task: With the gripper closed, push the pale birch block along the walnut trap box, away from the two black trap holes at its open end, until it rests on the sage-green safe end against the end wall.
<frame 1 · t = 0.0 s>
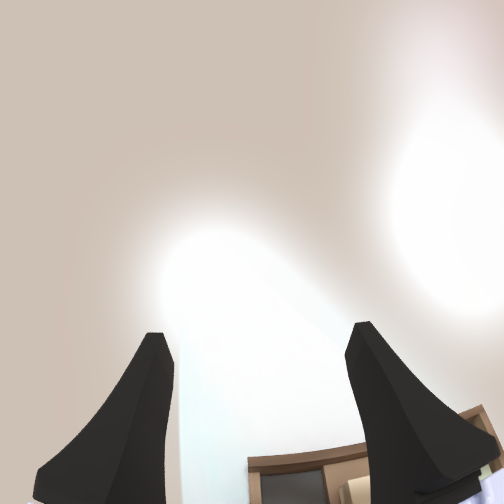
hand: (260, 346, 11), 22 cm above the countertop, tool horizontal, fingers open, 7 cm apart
trap box: (388, 502, 19), on the countertop
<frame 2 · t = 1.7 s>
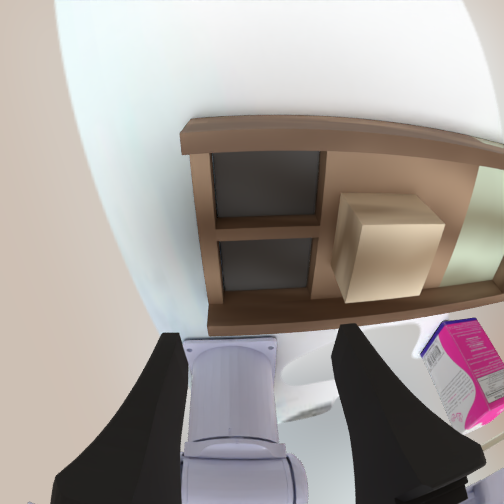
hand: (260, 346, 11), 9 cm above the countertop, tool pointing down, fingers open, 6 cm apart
birch block: (373, 230, 18), point 1 cm above the countertop, touching trap box
trap box: (397, 217, 19), on the countertop
supplement box: (448, 334, 28), on the countertop
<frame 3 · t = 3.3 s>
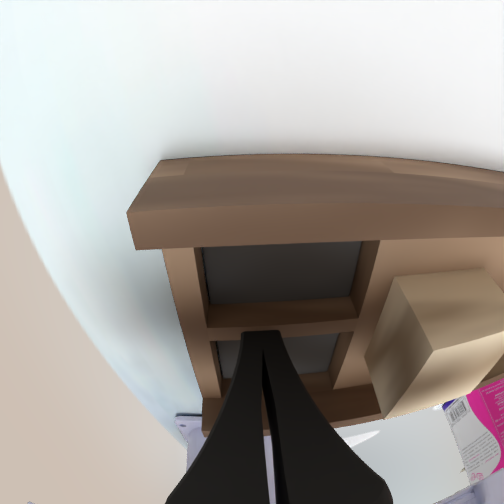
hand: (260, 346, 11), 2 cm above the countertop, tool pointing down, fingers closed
birch block: (425, 315, 12), point 1 cm above the countertop, touching trap box
trap box: (450, 288, 13), on the countertop
supplement box: (473, 384, 22), on the countertop
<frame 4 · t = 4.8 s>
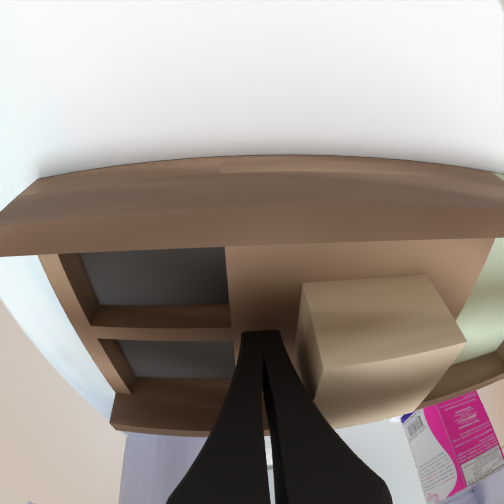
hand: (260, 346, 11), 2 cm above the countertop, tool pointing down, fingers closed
birch block: (355, 324, 12), point 2 cm above the countertop
trap box: (365, 298, 13), on the countertop
supplement box: (436, 397, 22), on the countertop
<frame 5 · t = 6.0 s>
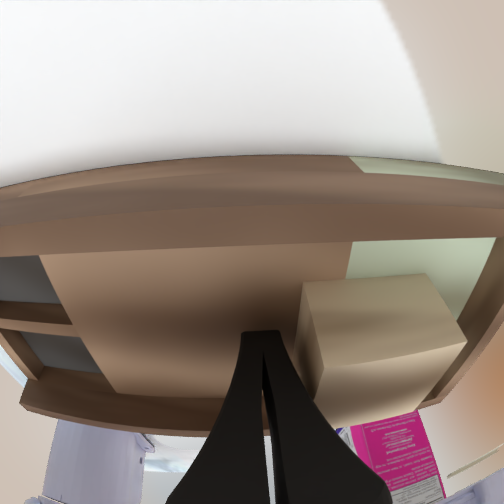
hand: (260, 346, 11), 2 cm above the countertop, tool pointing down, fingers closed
birch block: (355, 324, 12), point 2 cm above the countertop, touching gripper
trap box: (210, 307, 13), on the countertop
supplement box: (372, 414, 22), on the countertop
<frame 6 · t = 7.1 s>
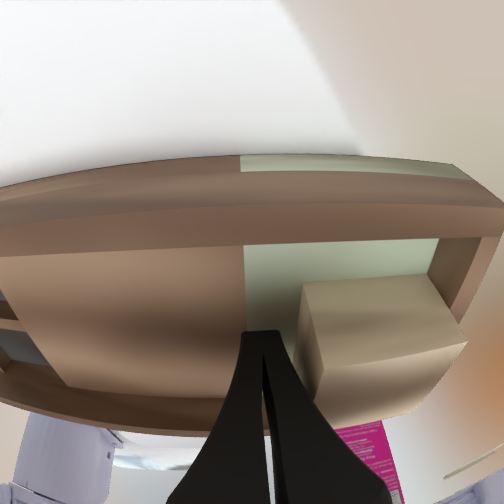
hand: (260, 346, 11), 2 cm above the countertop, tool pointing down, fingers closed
birch block: (356, 324, 12), point 1 cm above the countertop, touching gripper, trap box
trap box: (133, 308, 13), on the countertop
supplement box: (335, 420, 22), on the countertop
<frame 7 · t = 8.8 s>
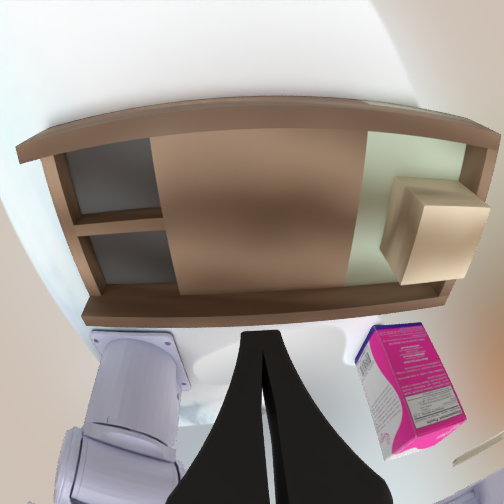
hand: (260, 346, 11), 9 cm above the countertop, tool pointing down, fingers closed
birch block: (420, 214, 17), point 1 cm above the countertop, touching trap box
trap box: (269, 205, 18), on the countertop
supplement box: (387, 340, 27), on the countertop
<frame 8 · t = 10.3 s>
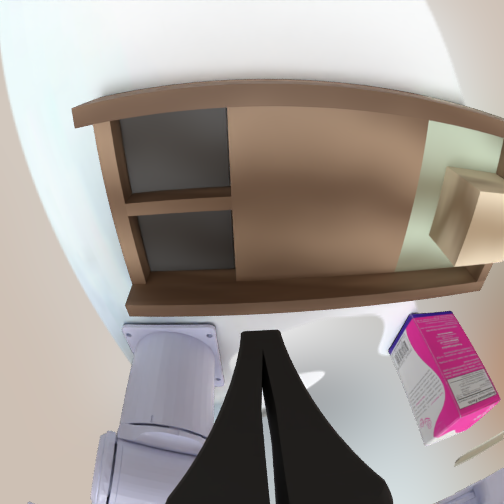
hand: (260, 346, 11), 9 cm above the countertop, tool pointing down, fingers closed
birch block: (464, 203, 17), point 1 cm above the countertop, touching trap box
trap box: (332, 189, 18), on the countertop
supplement box: (420, 329, 27), on the countertop
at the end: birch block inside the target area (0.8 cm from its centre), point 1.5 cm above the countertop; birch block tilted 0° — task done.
